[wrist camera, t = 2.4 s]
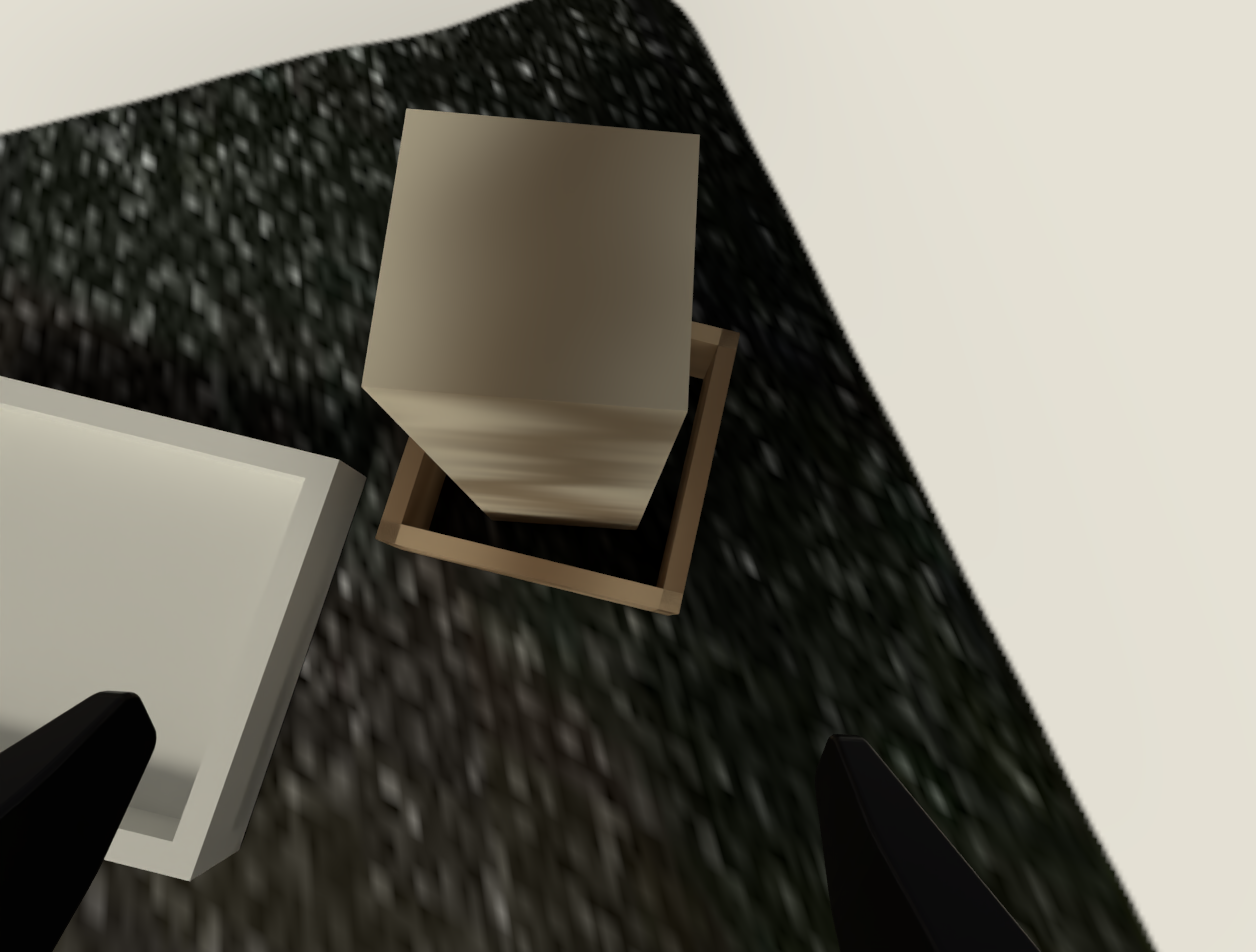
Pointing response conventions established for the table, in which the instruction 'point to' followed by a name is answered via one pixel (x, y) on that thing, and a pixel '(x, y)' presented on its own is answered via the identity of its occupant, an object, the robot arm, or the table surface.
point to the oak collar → (410, 532)
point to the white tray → (162, 598)
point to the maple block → (539, 310)
